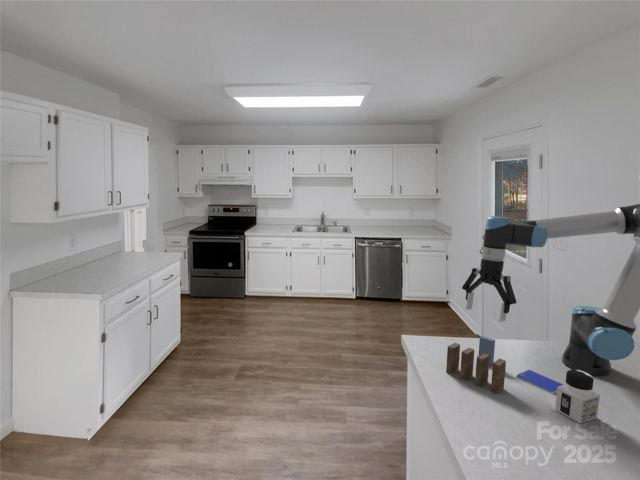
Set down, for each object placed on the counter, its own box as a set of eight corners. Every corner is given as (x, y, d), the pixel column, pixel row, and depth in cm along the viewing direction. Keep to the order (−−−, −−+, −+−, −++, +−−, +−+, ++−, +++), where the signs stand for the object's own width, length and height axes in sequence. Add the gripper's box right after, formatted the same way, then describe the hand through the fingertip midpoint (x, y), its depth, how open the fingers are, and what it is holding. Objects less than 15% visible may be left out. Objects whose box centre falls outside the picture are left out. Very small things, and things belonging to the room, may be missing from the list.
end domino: (480, 360, 145) (482, 335, 144) (493, 364, 141) (495, 339, 140) (478, 361, 144) (479, 337, 142) (490, 366, 140) (492, 341, 138)
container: (580, 424, 105) (585, 382, 103) (554, 410, 112) (558, 369, 110) (597, 418, 108) (602, 376, 106) (570, 404, 115) (575, 365, 113)
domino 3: (487, 382, 128) (489, 354, 127) (480, 387, 125) (482, 359, 124) (482, 380, 130) (484, 352, 128) (474, 384, 126) (476, 356, 125)
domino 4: (503, 388, 124) (506, 360, 123) (496, 393, 121) (499, 365, 119) (497, 386, 125) (500, 358, 124) (490, 391, 122) (492, 362, 121)
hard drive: (516, 374, 132) (552, 391, 121) (529, 369, 136) (565, 384, 125) (516, 378, 132) (552, 395, 121) (529, 373, 136) (565, 389, 125)
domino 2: (472, 376, 132) (474, 349, 131) (465, 380, 129) (467, 353, 128) (467, 373, 134) (469, 347, 133) (460, 378, 131) (461, 351, 129)
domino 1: (458, 370, 137) (460, 344, 135) (451, 374, 133) (452, 348, 132) (453, 368, 138) (455, 342, 137) (446, 372, 135) (447, 346, 134)
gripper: (456, 252, 142) (450, 305, 146) (521, 267, 122) (512, 328, 125) (468, 252, 146) (462, 303, 150) (533, 265, 126) (523, 324, 129)
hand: (484, 314), depth 137 cm, fingers open, 13 cm apart
